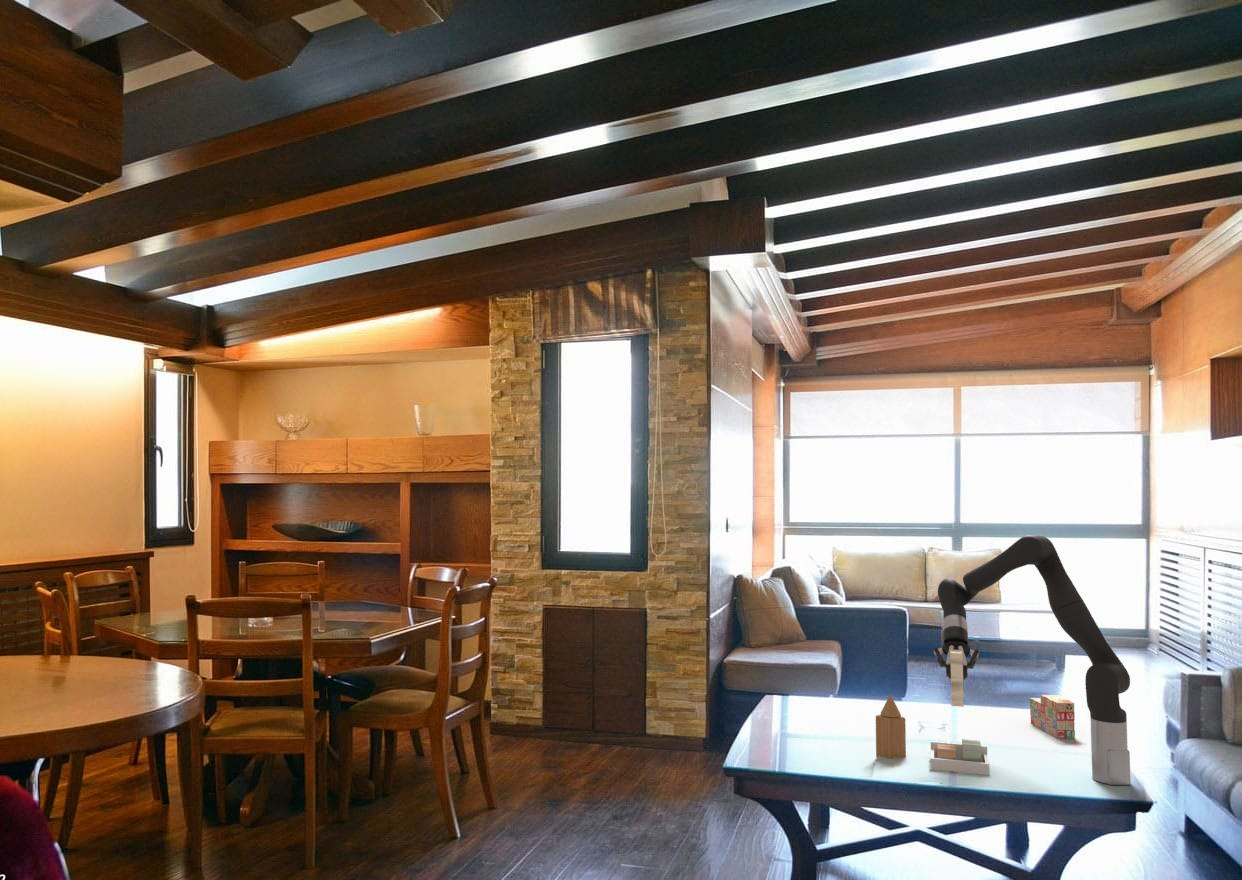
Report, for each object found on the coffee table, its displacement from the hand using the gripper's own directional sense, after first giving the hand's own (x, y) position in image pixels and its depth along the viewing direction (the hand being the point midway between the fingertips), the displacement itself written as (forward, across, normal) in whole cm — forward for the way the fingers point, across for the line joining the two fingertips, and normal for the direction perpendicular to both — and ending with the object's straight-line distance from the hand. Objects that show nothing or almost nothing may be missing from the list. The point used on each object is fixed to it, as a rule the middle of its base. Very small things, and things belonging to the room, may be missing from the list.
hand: (957, 677), depth 274 cm
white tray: (+20, 0, +16) cm, 26 cm away
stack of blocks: (-21, +32, +58) cm, 69 cm away
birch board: (+4, 0, +7) cm, 9 cm away
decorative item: (+21, -20, +16) cm, 33 cm away
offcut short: (+23, -4, +12) cm, 26 cm away
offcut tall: (+23, +3, +12) cm, 26 cm away
